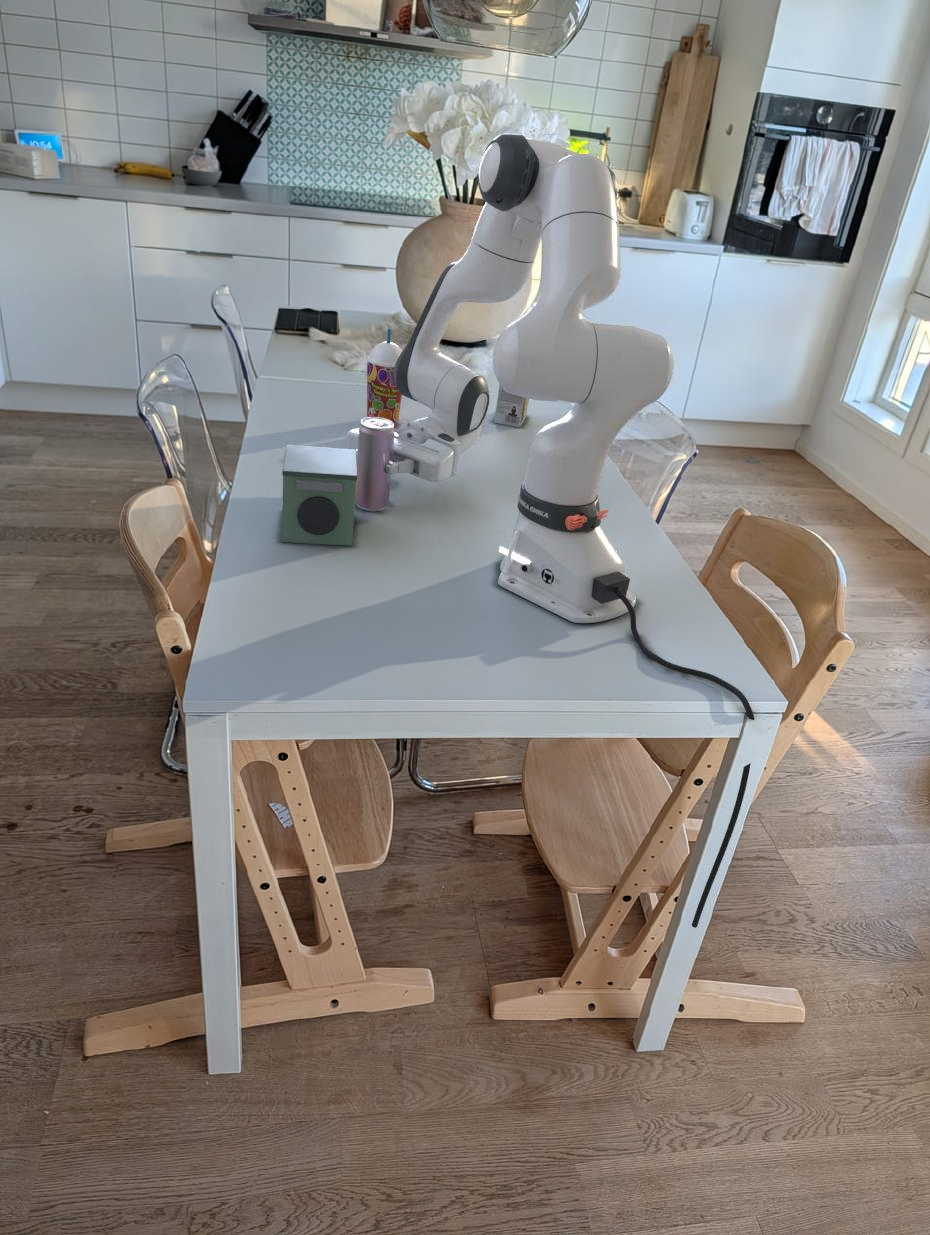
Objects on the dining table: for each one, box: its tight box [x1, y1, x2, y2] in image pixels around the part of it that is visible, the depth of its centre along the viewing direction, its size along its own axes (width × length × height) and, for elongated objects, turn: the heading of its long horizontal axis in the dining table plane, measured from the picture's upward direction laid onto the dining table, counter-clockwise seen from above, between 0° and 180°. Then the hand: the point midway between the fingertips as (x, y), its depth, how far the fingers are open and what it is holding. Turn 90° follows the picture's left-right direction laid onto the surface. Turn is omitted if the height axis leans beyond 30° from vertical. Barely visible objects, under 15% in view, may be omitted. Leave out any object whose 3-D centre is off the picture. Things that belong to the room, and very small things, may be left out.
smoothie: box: [366, 328, 403, 426], centre depth 192 cm, size 8×8×20 cm
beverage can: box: [355, 417, 396, 512], centre depth 156 cm, size 6×6×15 cm
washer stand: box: [281, 444, 357, 547], centre depth 146 cm, size 12×11×12 cm
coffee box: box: [493, 383, 530, 428], centre depth 205 cm, size 9×6×16 cm
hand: (371, 463), depth 155 cm, fingers closed on beverage can, 6 cm apart
